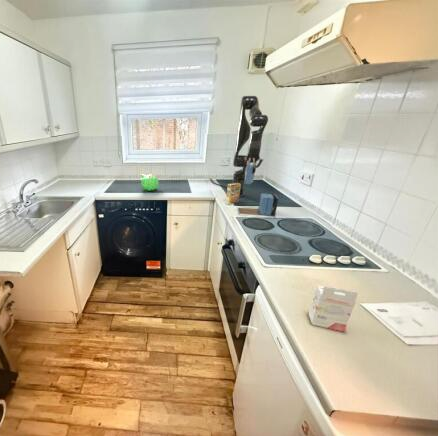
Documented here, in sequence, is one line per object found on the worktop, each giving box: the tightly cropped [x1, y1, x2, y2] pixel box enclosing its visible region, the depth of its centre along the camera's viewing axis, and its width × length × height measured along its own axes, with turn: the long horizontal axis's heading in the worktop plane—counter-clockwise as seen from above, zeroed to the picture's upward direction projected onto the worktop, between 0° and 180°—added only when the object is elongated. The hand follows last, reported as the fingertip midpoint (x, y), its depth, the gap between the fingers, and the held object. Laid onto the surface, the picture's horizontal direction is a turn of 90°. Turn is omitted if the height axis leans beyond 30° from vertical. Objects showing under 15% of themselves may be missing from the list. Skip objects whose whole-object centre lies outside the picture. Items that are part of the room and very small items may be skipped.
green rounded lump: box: [139, 173, 160, 192], centre depth 215 cm, size 18×17×15 cm
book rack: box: [237, 193, 279, 218], centre depth 160 cm, size 12×22×13 cm, turn 75°
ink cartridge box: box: [308, 285, 358, 332], centre depth 72 cm, size 9×5×15 cm, turn 69°
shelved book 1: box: [257, 193, 268, 216], centre depth 159 cm, size 9×3×12 cm, turn 165°
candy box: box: [225, 183, 241, 205], centre depth 179 cm, size 9×4×15 cm, turn 107°
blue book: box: [244, 164, 255, 185], centre depth 165 cm, size 3×9×12 cm, turn 141°
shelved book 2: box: [265, 193, 274, 215], centre depth 158 cm, size 9×3×12 cm, turn 165°
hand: (250, 172), depth 165 cm, fingers closed on blue book, 3 cm apart
